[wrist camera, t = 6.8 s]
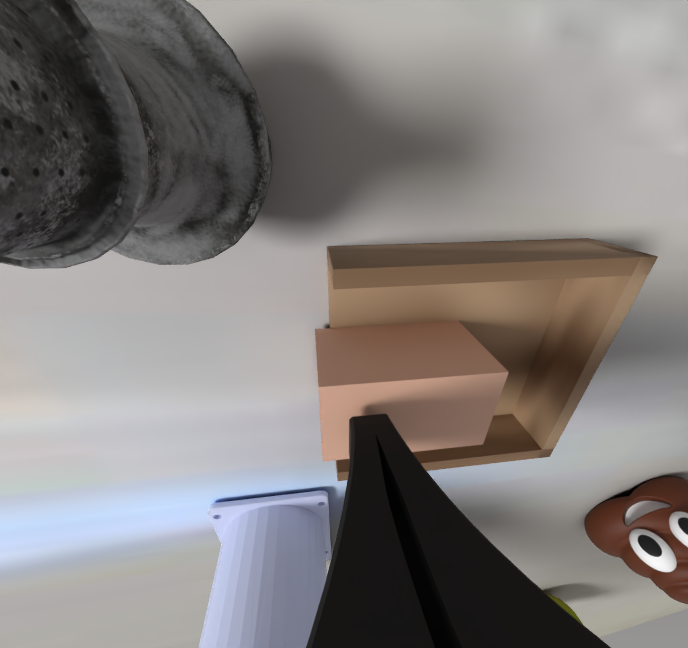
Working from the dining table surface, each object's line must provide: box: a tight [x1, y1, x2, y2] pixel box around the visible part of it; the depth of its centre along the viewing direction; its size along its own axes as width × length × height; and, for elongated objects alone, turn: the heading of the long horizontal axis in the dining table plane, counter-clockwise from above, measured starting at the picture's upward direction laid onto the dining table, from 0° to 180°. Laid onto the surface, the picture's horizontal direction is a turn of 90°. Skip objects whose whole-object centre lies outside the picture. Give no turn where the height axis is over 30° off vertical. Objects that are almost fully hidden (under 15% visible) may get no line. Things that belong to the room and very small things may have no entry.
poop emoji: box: [585, 476, 688, 604], centre depth 23 cm, size 10×8×9 cm
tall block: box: [315, 321, 509, 461], centre depth 13 cm, size 4×4×7 cm
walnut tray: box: [327, 239, 658, 481], centre depth 14 cm, size 11×12×3 cm
